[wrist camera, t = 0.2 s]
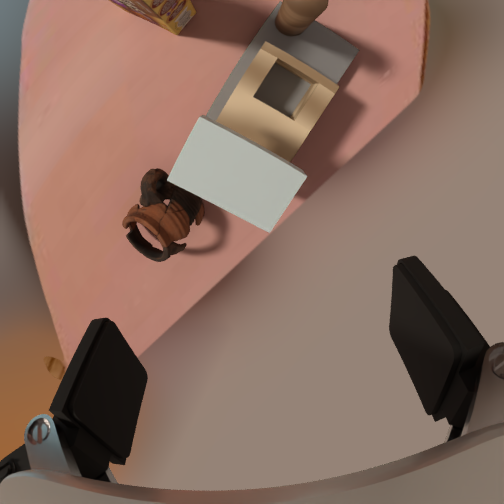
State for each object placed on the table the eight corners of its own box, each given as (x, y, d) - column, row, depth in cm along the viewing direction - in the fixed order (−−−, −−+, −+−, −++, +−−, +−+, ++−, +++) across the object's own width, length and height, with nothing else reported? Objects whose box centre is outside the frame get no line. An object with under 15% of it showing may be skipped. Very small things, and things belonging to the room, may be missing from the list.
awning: (213, 110, 32) (199, 116, 22) (287, 151, 35) (307, 176, 24) (189, 153, 35) (166, 180, 24) (262, 191, 37) (269, 233, 27)
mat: (278, 4, 27) (280, 1, 26) (355, 51, 30) (359, 50, 28) (188, 150, 36) (186, 152, 34) (264, 190, 39) (265, 193, 37)
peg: (284, 5, 26) (299, -25, 17) (311, 20, 27) (335, -4, 18) (268, 26, 27) (278, 2, 18) (296, 41, 28) (315, 22, 19)
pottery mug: (215, 232, 42) (183, 274, 37) (162, 221, 45) (130, 257, 40) (197, 154, 34) (153, 193, 29) (139, 151, 37) (96, 185, 32)
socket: (263, 47, 29) (265, 41, 25) (329, 87, 31) (339, 86, 27) (205, 143, 34) (200, 148, 31) (270, 178, 36) (273, 188, 33)
